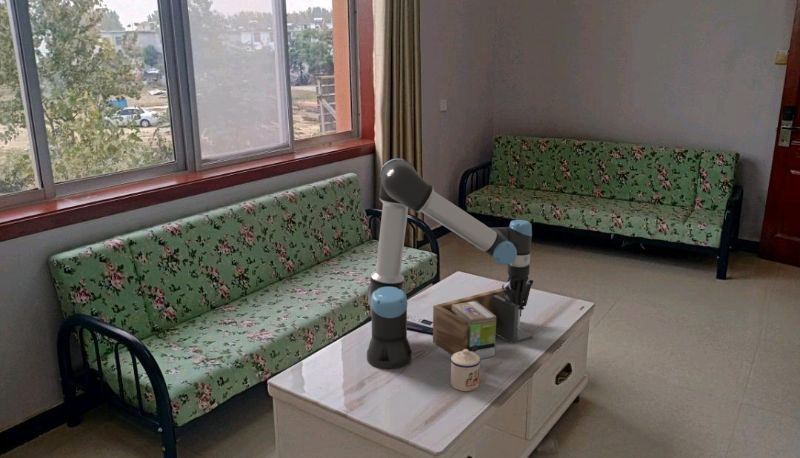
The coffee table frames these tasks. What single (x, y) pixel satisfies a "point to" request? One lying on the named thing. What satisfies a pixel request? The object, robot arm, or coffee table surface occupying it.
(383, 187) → the robot arm
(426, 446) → the coffee table surface
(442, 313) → the shelf
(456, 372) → the teacup with lid
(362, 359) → the coffee table surface
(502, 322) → the bookend
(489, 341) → the tea box
